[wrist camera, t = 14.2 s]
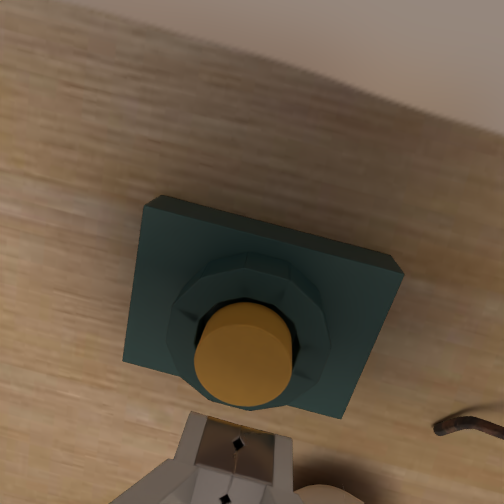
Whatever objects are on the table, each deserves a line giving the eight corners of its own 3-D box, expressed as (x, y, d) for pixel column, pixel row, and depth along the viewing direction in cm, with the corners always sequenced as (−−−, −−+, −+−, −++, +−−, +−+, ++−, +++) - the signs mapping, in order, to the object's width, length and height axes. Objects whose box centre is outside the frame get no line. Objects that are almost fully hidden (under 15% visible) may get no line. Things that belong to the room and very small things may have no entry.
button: (196, 364, 16) (185, 393, 14) (213, 290, 14) (203, 313, 13) (278, 386, 16) (277, 417, 14) (302, 314, 14) (304, 340, 13)
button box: (139, 336, 20) (104, 387, 16) (161, 194, 17) (124, 216, 13) (336, 388, 20) (346, 452, 16) (391, 255, 17) (420, 294, 13)
